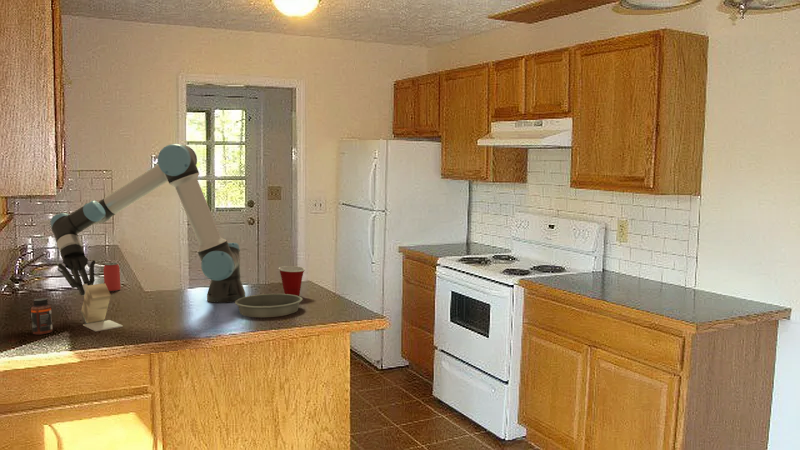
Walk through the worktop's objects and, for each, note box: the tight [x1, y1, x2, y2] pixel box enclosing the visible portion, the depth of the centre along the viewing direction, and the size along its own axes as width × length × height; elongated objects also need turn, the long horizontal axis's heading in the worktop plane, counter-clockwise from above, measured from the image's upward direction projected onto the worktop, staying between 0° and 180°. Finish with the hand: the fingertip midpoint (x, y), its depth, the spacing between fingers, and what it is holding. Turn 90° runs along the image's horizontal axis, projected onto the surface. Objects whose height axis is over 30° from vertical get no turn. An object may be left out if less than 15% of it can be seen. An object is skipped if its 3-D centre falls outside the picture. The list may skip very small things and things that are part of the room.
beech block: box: [80, 283, 112, 324], centre depth 233 cm, size 6×6×13 cm
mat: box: [82, 319, 124, 332], centre depth 230 cm, size 12×9×1 cm
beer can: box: [103, 262, 122, 292], centre depth 296 cm, size 7×7×12 cm
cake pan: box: [234, 293, 303, 318], centre depth 250 cm, size 25×25×4 cm
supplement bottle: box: [30, 297, 54, 336], centre depth 221 cm, size 6×6×11 cm
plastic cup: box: [278, 265, 306, 296], centre depth 276 cm, size 11×11×12 cm
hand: (89, 300), depth 236 cm, fingers closed
